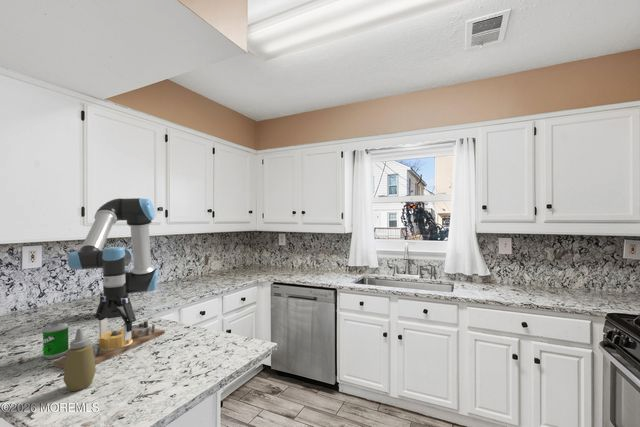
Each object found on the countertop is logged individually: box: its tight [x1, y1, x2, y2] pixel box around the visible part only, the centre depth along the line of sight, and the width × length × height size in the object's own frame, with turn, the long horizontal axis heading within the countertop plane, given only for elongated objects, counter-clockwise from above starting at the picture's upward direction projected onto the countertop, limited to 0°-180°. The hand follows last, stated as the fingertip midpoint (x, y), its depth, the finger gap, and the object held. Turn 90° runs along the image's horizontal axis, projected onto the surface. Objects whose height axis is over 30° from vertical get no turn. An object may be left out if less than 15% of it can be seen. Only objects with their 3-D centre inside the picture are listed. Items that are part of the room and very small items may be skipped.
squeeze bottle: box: [63, 328, 97, 392], centre depth 97 cm, size 8×8×18 cm
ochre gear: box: [97, 328, 132, 350], centre depth 125 cm, size 11×11×4 cm
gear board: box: [52, 320, 166, 370], centre depth 125 cm, size 36×14×7 cm, turn 160°
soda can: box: [42, 321, 70, 360], centre depth 119 cm, size 8×8×12 cm
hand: (115, 337), depth 125 cm, fingers open, 13 cm apart
